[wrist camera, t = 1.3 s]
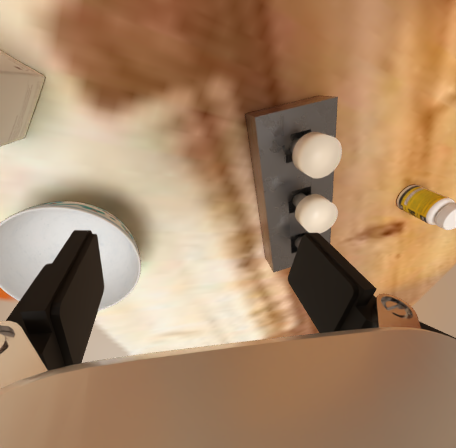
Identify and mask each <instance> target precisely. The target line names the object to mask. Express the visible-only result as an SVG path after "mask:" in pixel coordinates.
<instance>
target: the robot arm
mask: <svg viewBox="0 0 456 448" xmlns="http://www.w3.org/2000/svg"><path fill="white" fill-rule="evenodd" d="M288 281H289V284H290V285H291V287H292V289H293V290H294V292H295V294H296V295H297V297H298V298H299V300H300V302H301V303H302V305H303V307H304V308H305V310H306V311H307V313H308V315H309V316H310V318H311V320H312V321H313V323H314V324H315V326H316V328H317V329H318V331H319V333H317V334H308V335H299V336H290V337H281V338H272V339H264V340H255V341H246V342H238V343H229V344H221V345H212V346H204V347H196V348H187V349H179V350H171V351H163V352H154V353H147V354H139V355H132V356H125V357H118V358H110V359H103V360H97V361H92V362H85V363H81V362H82V359H83V356H84V353H85V350H86V346H87V343H88V340H89V337H90V334H91V331H92V327H93V324H94V321H95V318H96V315H97V312H98V308H99V305H100V302H101V299H102V296H103V292H104V279H103V272H102V265H101V258H100V250H99V243H98V237H97V234H92V231H91V230H74V231H73V232H72V234H71V235H70V237H69V238H68V240H67V241H66V243H65V244H64V246H63V247H62V249H61V250H60V252H59V254H58V255H57V257H56V258H55V260H54V261H53V263H49V264H46V265H45V266H44V267H43V268H42V270H41V271H40V272H39V274H38V275H37V277H36V278H35V280H34V281H33V282H32V284H31V285H30V287H29V288H28V290H27V291H26V293H25V294H24V295H23V297H22V298H21V300H20V301H19V303H18V304H17V306H16V307H15V308H14V310H13V311H12V313H11V314H10V316H9V317H8V319H7V320H6V321H0V448H456V338H454V337H452V336H450V335H448V334H445V333H443V332H441V331H439V330H437V329H434V328H432V327H430V326H428V325H426V324H423V323H421V322H419V320H418V316H417V314H416V312H415V311H414V309H413V308H412V307H411V306H410V305H409V304H407V303H406V302H405V301H403V300H401V299H400V298H398V297H395V296H393V295H389V294H379V295H378V296H377V297H375V296H374V295H373V294H374V292H375V291H376V288H375V287H374V286H373V285H372V284H371V283H370V282H369V281H368V280H367V279H366V278H365V277H364V276H363V275H362V274H361V273H359V272H358V271H357V270H356V269H355V268H354V267H353V266H352V265H351V264H350V263H349V262H348V261H347V260H346V259H345V258H344V257H343V256H342V255H341V254H340V253H339V252H338V251H337V250H336V249H335V248H334V247H333V246H332V245H331V244H330V243H329V242H328V241H326V240H325V239H324V238H323V237H322V236H321V235H320V234H319V233H306V234H305V235H304V236H302V238H301V241H300V243H299V246H298V249H297V252H296V255H295V258H294V261H293V264H292V267H291V270H290V273H289V276H288Z"/></svg>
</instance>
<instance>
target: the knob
mask: <svg viewBox="0 0 456 448" xmlns="http://www.w3.org/2000/svg"><path fill="white" fill-rule="evenodd" d="M290 151H291V153H292V159H293V163H294V165H295V167H296V168H297V169H299V170H300V171H302V172H303V173H305V174H306V175H308V176H310V177H312V178H323V177H325V176H327V175H329V174H330V173H331V172H333V171H334V170H335V168H336V167H337V166H338V164H339V162H340V159H341V156H342V147H341V144H340V142H339V141H338V140H337V139H336V138H335V137H332V136H329V135H326V134H323V133H319V132H310V133H307V134H305V135H304V136H302V137H301V138H296V139H294V140H293V141H292V143H291V145H290Z"/></svg>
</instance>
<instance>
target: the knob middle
mask: <svg viewBox="0 0 456 448" xmlns="http://www.w3.org/2000/svg"><path fill="white" fill-rule="evenodd" d="M293 204H294V205H295V206H296V210H295V218H296V220H297V221H298V222H299V223H300V224H301V225H302V226H303V227H304V228H305V229H306V230H307V231H308V232H309V233H319V234H320V233H323V232H325V231H327V230H328V229H329V228H330V227H331V226H332V225H333V224H334V223H335V221H336V219H337V215H338V210H337V207H336V206H335V205H334V204H333V203H331V202H330V201H329V200H327V199H326V198H324V197H323V196H321V195H319V194H311V195H308V196H306V195H304V194H303V193H299V194H297V195H295V196H294V198H293Z"/></svg>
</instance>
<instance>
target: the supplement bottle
mask: <svg viewBox="0 0 456 448" xmlns="http://www.w3.org/2000/svg"><path fill="white" fill-rule="evenodd" d="M397 206H398V207H399V208H400V209H402V210H404V211H406V212H408V213H409V214H411V215H413V216H415V217H417V218H419V219H421V220H423V221H425V222H426V223H428V224H431V225H437V226H439V227H441V228H443V229H445V230H451V229H454V228H455V227H456V203H455V202H454V201H453V200H452V199H450V198H448V197H446V196H443V195H441V194H438V193H435V192H433V191H431V190H428V189H426V188H423V187H421V186H418V185H411V186H408V187H407V188H405V189H404V190H403V191H402V192H401V193H400V195H399V196H398V199H397Z"/></svg>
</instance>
